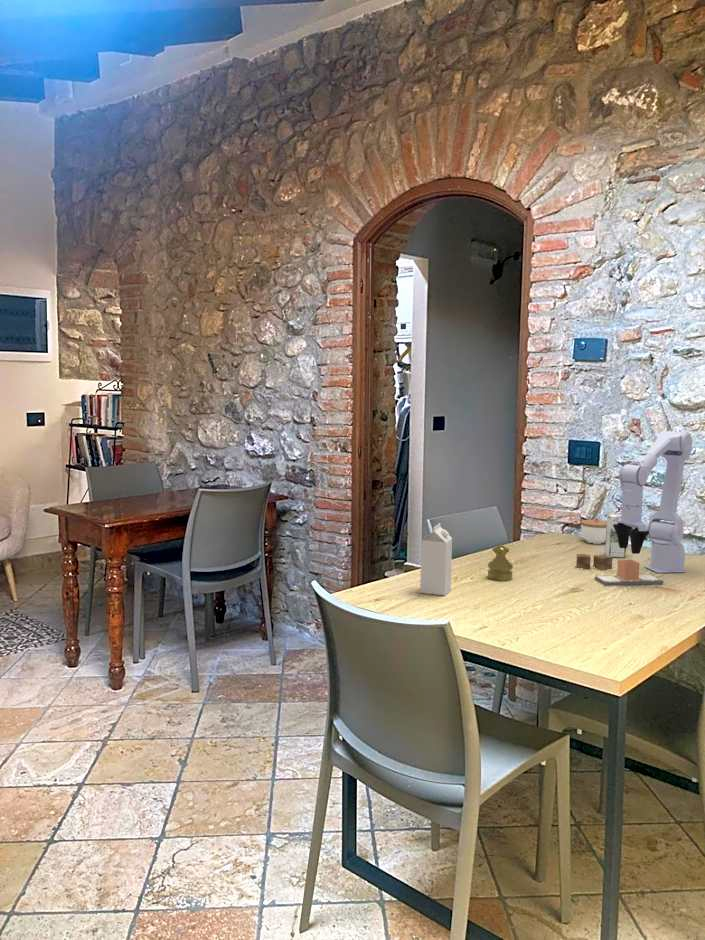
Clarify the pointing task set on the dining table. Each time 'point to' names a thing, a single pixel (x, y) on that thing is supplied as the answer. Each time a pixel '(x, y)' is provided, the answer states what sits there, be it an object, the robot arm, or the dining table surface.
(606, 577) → the board
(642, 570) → the dining table surface
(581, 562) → the walnut block
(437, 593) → the milk carton
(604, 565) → the walnut block
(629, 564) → the orange brown block
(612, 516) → the syrup box
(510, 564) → the olive green tiered piece
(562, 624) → the dining table surface
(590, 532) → the lidded jar
